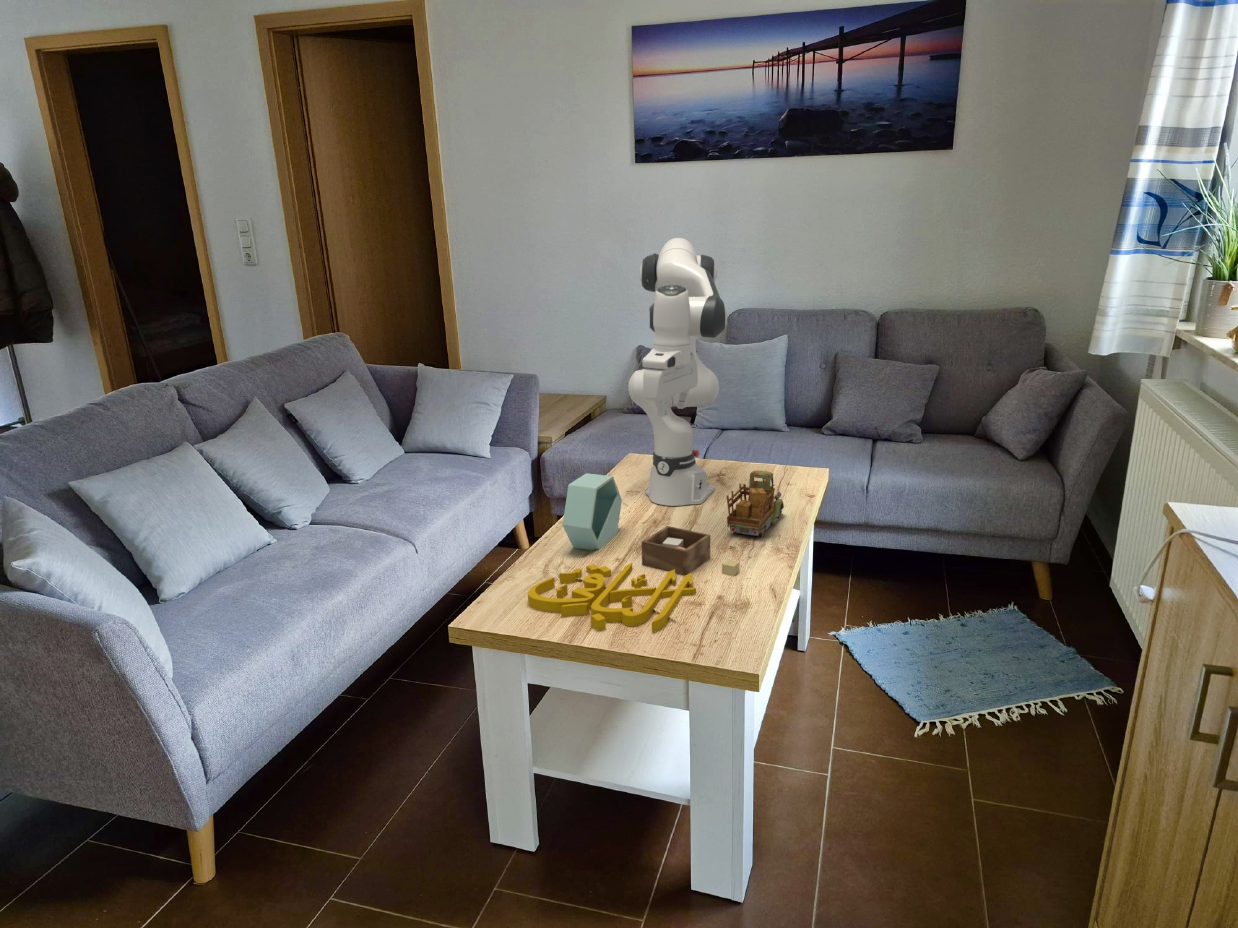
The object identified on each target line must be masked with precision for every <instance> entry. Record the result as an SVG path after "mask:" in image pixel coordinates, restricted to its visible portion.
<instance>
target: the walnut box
mask: <svg viewBox="0 0 1238 928" xmlns="http://www.w3.org/2000/svg"><path fill="white" fill-rule="evenodd" d="M668 537H669V538H676V539H683V548H685V550H683V549H679V548H674V547H670V546H666V545H662V543H663V542H664V541H665V540H666V539H667V538H668ZM710 559H711V534H706V533H702V532H698V531H692V530H689V529H683V528H680V527H679V528H678V527H674V526H669V525H666V526H665V527H662V529H660V530H659V531H657V532H655V533H653V534H652V535H650V536H648V537H646V538H645V539H644V540H642V541H641V565H642V566H644V567H647V568H653V569H655V570H656V569H657V570H660V571H665V572H667V573H668V572H669V571H672V570H674V569H675V575H676V574H677V575H681V576H683V577H684V576H685V575H687V574H690V573H692V572H694V570H696V569H698V568H699V567H700V566H702V565H703V564H704V563H706V562H707V561H708V560H710Z"/></svg>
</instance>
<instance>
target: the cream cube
mask: <svg viewBox="0 0 1238 928" xmlns="http://www.w3.org/2000/svg"><path fill="white" fill-rule="evenodd" d="M662 545H666V546H670V547H674V548H677V547H679V546H680V547H683V539H676V538H669V537H668V538H667V539H666V540H665V541H664V542H663V543H662Z"/></svg>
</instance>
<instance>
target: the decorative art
mask: <svg viewBox="0 0 1238 928" xmlns="http://www.w3.org/2000/svg"><path fill="white" fill-rule="evenodd" d="M585 569H586V573H588V575H587V576H585V577H584V579H583V585H584V587H577V588H575V589H573V590H571V598H564V597H566V596H567V595H568V594H569V592H568V590H569V589H568V584H574V583H580V582H582V579H581V578H582V576H583V569H582V568H581V567H580V568H579V567H578V568H575V569H574V570H573V571H570V572H559V583H560V584H562V585H560V586H558V587H557V588H556V587H555V586H556V585H555V584H556V583H555V577H550V578H547V579H545V580H542V581H540V582H538V583H536V584H535V585H534V586H532V587H530V589H529V590H528V591H527V600H528V602H527V604H528V606H529V607H530V608H531V609H534V610H538V611H541V612H546V611H547V613H557V614H558V613H559V614H560V617H561V618H566V617H574V616H575V617H576V616H587V615H590V612H591V615H590V626H591V627H592V628H593V629H594V630H596V632H601V631H604V630H606V629H607V627H606V626H607V625H606V623H621V624H622V625H623V626H626V627H638V626H640V625H642V624H644V623H646V622H647V621H649V619H650V618H651V617H652V616H653V614H654V612H655V611H656V610H655V607H656V606H657V604H658V603H659V601H660V600H661V599H666V598H669V599H668V601H666V604H665V605H664V607H663V608H662V609H661V611H660V613H659V614H658V615H657V616H656V617H655V619H653V621H651V633H652V632H653V633H655V631H656V632H658V631H660V630H662V629H663V628H664V627H665V626H666V625H667V624H668V622H669V620H670V619H671V617H670V615H671V613H672V612H673V611H674V608H676V606H677V604H678V603H679V601H680V599H682V597H684V596H695V595H696V594H697V587H693V583H694V582H693V574H692V572H691V573H689V574H687V575H685V576H684V575H683V579H682V580H681V582H680V583H679V585H678V586H677V587H676V588H673V589H669V587H670V586H671V585H672V587H675V586H676V579H677V578H676V573H675V569H674V570H672V571H669V572H668V571H667V573H666V575H665V577H663V579H662V581H661V582H660V584H659V585H658V586H657V587H654V586H653V587H647V586H648V579H647V578H646V574H645V573H643V574H640V575H638V576H637V577H636V578H635V577H632V578H631V582H630V583H631V584H630V585H631V587H634V588H624V589H618V588H619V587H620V586H621V585H622V583H624V581H625V580H626V579H627V577H628V576H629V575H630V574H631V572H632V571H633V562H630V563H628V564H627V565H625V566H624V567H623V568H622V570H621V572H619V573H618V575H617V576H616V577H615V578H614V579H613V580H612V581H611V582H610V583H609V585H608V586H607V587H606V588H605V578H608V577H612V569H611V568H610V567H608V566H605V565H604V566H601V567H599V566H597V565H596V564H593V563H592V564H589V565H586V566H585ZM563 584H564V585H563ZM555 588H556V597H554V598H553V597H548V596H547V597H546V596H542V594H544V593H547V592H549V591H551V590H553V589H555ZM640 596H641V597H643V596H650V598H648V600H647V602H645V604H644V605H643V607H642V608H641V610H639V611H634V607H632V606H633V597H640ZM619 602H621V607H615V608H614V607H607V606H608V605H609V604H610V603H611V604H612V603H619ZM659 629H660V630H659Z"/></svg>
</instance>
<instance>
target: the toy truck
mask: <svg viewBox="0 0 1238 928" xmlns="http://www.w3.org/2000/svg"><path fill="white" fill-rule="evenodd" d="M755 478H756V479H762V481H758V480H755ZM748 483H749V486H747V485H746V484H745V483H743V485H742V484H741V483H738V486H739V487H738V488H739V489H738V490H737V491H736V492H735V493H734V491H733V490H731V492H730V495H731V497H729V494H727V495H726V503H727V512H728V515H727V517H726V523H727V528H729V531H730V533H733V534H735V535H740V534H743V535H748V536H749V535H750V536H755V537H756V536H757V538H760V539H761V538H764V536H765V533H766V530H768V529H769V527H770V526H771V524H775V523H776V522H777V521H778V519H780V518H781V517H782V512H783V509H784V508H785V504H784V501H783V499H781V498H780V497H782V492H780V491H778V492H777V493H776V494H775V491H776V487H774V486H775V484H774V473H773V472H771V471H766V470H752V471H750V473H749V481H748ZM747 497H748V499H747ZM739 500H740V501H739ZM738 501H739V502H738ZM734 505H735V508H734Z"/></svg>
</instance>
